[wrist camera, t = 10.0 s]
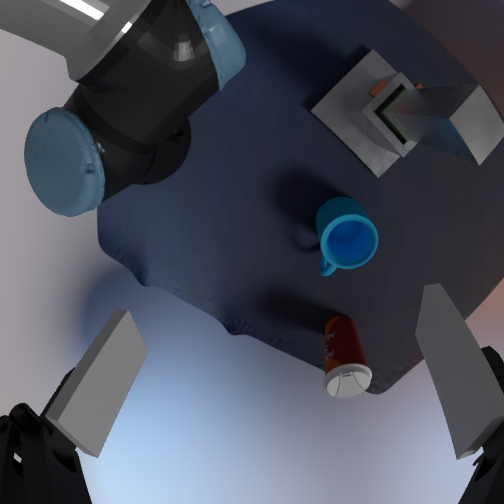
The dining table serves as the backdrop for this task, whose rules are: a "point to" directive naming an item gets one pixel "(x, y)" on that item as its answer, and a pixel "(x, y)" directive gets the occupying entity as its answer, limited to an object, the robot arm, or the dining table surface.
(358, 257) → the mug
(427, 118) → the column
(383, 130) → the stand base
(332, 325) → the coffee cup
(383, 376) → the dining table surface
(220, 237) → the dining table surface
